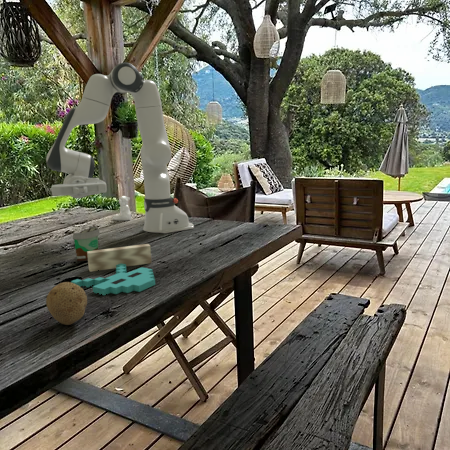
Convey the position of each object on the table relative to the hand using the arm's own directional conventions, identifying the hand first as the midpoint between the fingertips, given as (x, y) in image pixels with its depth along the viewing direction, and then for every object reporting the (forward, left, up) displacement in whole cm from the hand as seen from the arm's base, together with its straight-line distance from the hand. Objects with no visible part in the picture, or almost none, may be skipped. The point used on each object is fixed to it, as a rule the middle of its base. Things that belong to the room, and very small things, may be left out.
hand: (81, 191), depth 168 cm
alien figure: (-4, +45, -23) cm, 51 cm away
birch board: (-7, +29, -22) cm, 37 cm away
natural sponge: (+13, +68, -22) cm, 73 cm away
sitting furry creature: (-25, -49, -22) cm, 59 cm away
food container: (0, +13, -22) cm, 26 cm away
